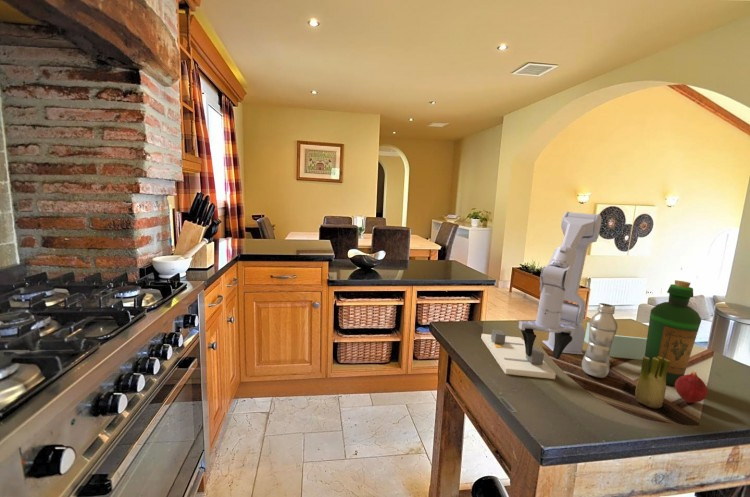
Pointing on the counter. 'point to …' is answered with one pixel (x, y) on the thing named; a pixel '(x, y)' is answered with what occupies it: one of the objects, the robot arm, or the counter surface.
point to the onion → (691, 388)
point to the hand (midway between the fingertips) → (541, 356)
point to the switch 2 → (536, 356)
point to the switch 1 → (498, 336)
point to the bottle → (673, 330)
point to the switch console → (516, 358)
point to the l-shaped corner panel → (625, 346)
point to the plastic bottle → (600, 341)
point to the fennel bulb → (652, 382)
